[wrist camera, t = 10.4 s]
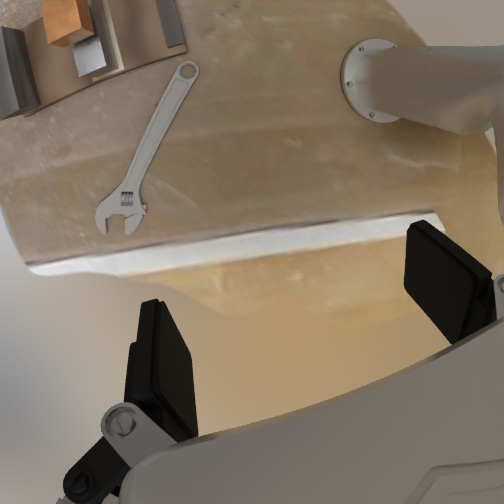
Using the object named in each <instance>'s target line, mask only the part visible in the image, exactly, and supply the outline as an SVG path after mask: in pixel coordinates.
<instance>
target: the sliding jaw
mask: <svg viewBox="0 0 504 504" xmlns="http://www.w3.org/2000/svg"><path fill="white" fill-rule="evenodd" d="M41 10H42V16H43V21H44V26H45V31H46V36H47V41H48V44H50V45H55V46H59V47H63V48H65V47H67V46H69V45H71V46H72V50H73V54H74V58H75V62H76V66H77V70H78V74H79V77H90V78H96V77H98V76H101V75H103V74H106V73H108V72H111V71H113V70H116V69H119V67H118V63H117V60H116V56H115V52H114V48H113V44H112V40H111V36H110V32H109V28H108V23H107V19H106V15H105V10H104V6H103V1H102V0H46V1H44V2H42V3H41Z"/></svg>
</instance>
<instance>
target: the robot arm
mask: <svg viewBox="0 0 504 504" xmlns="http://www.w3.org/2000/svg"><path fill="white" fill-rule="evenodd" d="M359 49H360V51H359ZM341 82H342V88H343V91H344V95H345V97H346V99H347V101H348V102H349V104H350V105H351V106H352V108H353V109H354V110H355V111H356V112H357V113H358V114H359V115H361V116H362V117H364V118H366V119H368V120H371V121H374V122H378V123H390V122H394V121H396V120H398V119H400V118H405V119H408V120H412V121H415V122H419V123H422V124H426V125H429V126H432V127H436V128H439V129H442V130H445V131H448V132H451V133H454V134H458V135H462V136H473V135H478V134H481V133H483V132H485V131H487V130H489V129H490V128H491V127H493V128H494V134H495V145H496V149H497V175H498V208H499V214H500V218H501V220H502V223H503V225H504V45H501V46H484V47H464V46H463V47H462V46H417V47H398V46H397V45H396V44H394V43H392V42H390V41H387V40H384V39H368V40H364V41H361V42H359V43H358V44H356V45H355V46H354V47H352V48H351V49H350V51H349V52H348V53H347V55H346V57H345V59H344V61H343V65H342V69H341ZM347 82H348V85H347ZM369 113H370V115H369ZM491 276H492V273H491V272H490V271H489V270H488V269H487V268H486V267H484V266H483V265H482V264H481V263H480V262H478V261H477V260H476V259H475V258H474V257H472V256H471V255H470V254H469V253H467V252H466V251H465V250H464V249H462V248H461V247H460V246H459V245H457V244H456V243H455V242H453V241H452V240H451V239H450V238H448V237H447V236H446V235H444V234H443V233H442V232H440V231H439V230H438V229H436V228H435V227H434V226H432V225H431V224H430V223H428V222H427V221H425V220H420V221H417V222H414V223H412V224H410V227H409V228H408V229H407V240H406V259H405V274H404V287H405V290H406V291H407V293H408V294H409V295H410V296H411V297H412V298H413V300H414V301H415V302H416V303H417V304H418V305H419V306H420V308H421V309H422V310H423V311H424V312H425V313H426V314H427V316H428V317H429V318H430V319H431V320H432V322H433V323H434V324H435V325H436V326H437V327H438V329H439V330H440V331H441V332H442V333H443V335H444V336H445V337H446V338H447V340H448V341H449V342H450V343H451V344H452V345H451V346H449V347H447V348H445V349H443V350H441V351H440V352H438V353H436V354H434V355H432V356H430V357H428V358H426V359H423V360H421V361H419V362H417V363H415V364H413V365H411V366H409V367H407V368H405V369H402V370H400V371H398V372H396V373H393V374H391V375H389V376H387V377H384V378H382V379H380V380H377V381H375V382H372V383H370V384H367V385H366V386H363V387H360V388H358V389H355V390H353V391H350V392H347V393H344V394H342V395H339V396H336V397H334V398H331V399H328V400H325V401H322V402H320V403H317V404H314V405H311V406H308V407H305V408H302V409H298V410H296V411H292V412H289V413H286V414H282V415H279V416H276V417H272V418H268V419H265V420H261V421H258V422H255V423H251V424H247V425H243V426H239V427H236V428H232V429H227V430H223V431H219V432H215V433H211V434H208V435H204V436H200V437H198V424H197V414H196V404H195V393H194V381H193V368H192V358H191V354H190V352H189V350H188V347H187V346H186V344H185V342H184V340H183V338H182V336H181V334H180V332H179V330H178V328H177V326H176V324H175V322H174V320H173V318H172V316H171V314H170V312H169V310H168V308H167V306H166V304H165V302H164V301H161V302H159V300H158V299H153V300H149V301H146V302H142V304H141V309H140V317H139V325H138V333H137V340H136V342H133V343H131V345H130V349H129V357H128V365H127V375H126V383H125V394H124V403H119V404H117V405H114V406H113V407H111V408H110V409H109V410H108V411H107V412H106V413H105V415H104V416H103V418H102V421H101V432H102V434H103V435H104V436H103V437H102V438H101V439H100V440H99V441H98V442H97V443H96V444H95V445H94V446H93V447H92V448H91V449H90V450H89V451H88V452H87V453H86V454H85V455H84V456H83V457H82V458H81V459H80V460H79V461H78V462H77V463H76V464H75V465H74V466H73V467H72V468H71V469H70V470H69V471H68V472H67V474H66V475H65V477H64V480H63V489H64V493H65V496H64V498H63V499H61V498H59V499H58V501H57V503H56V504H504V274H502V275H499V276H497V277H496V278H495V280H494V281H493V280H492V279H491ZM194 437H196V438H194Z"/></svg>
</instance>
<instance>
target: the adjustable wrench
mask: <svg viewBox="0 0 504 504" xmlns="http://www.w3.org/2000/svg"><path fill="white" fill-rule="evenodd" d="M186 65H191V66H193V67H194V69H195V73H194V75H193V76H192V77H189V78H186V77H184V76H183V75H182V73H181V70H182V68H183V67H184V66H186ZM198 73H199V68H198V66H197V64H196V63H194V62H192V61H185V62H183V63H181V64H180V65H179V67H178V68H177V70H176V72H175V74H174V76H173V77H172V79H171V81H170V83H169V85H168V87H167V89H166V91H165V92H164V94H163V96H162V98H161V100H160V102H159V104H158V106H157V108H156V110H155V112H154V114H153V116H152V119H151V121H150V123H149V125H148V127H147V129H146V131H145V133H144V136H143V138H142V140H141V142H140V144H139V147H138V149H137V151H136V154H135V156H134V158H133V161H132V163H131V165H130V168H129V170H128V173H127V175H126V177H125V179H124V180H123V181H122V183H121V184H120V185H119V186H118V187H117V188H116V189H115V190H114V191H113V192H112V193H111V194H109V195H108V196H107V197H106V198H105V199H103V200H102V202H101V203H100V204H99V206H98V208H97V210H96V213H95V220H96V224H97V226H98V229H99V230H100V231H101V232H102V233H103V234H107V231H108V225H107V217H109V216H111V215H113V214H123V215H125V216H126V218H125V235H130V234H131V233H132V232H133V231H135V229H136V228H137V227H138V225H139V223H140V221H141V219H142V216H143V214H146V213H147V209H146V206H147V204H143V203H142V199H141V195H140V185H141V181H142V179H143V176H144V174H145V172H146V170H147V168H148V166H149V164H150V162H151V160H152V158H153V156H154V154H155V152H156V150H157V148H158V146H159V144H160V142H161V140H162V138H163V136H164V134H165V132H166V130H167V128H168V127H169V125H170V123H171V121H172V119H173V117H174V115H175V114H176V112H177V110H178V108H179V106H180V105H181V103H182V101H183V99H184V98H185V96H186V94H187V92H188V91H189V89H190V87H191V86H192V84H193V82H194V81H195V79H196V77H197V76H198ZM123 192H125V193H123ZM126 192H127V194H126ZM129 192H130V194H129ZM131 192H133V194H132V193H131Z"/></svg>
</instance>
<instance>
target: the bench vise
mask: <svg viewBox="0 0 504 504" xmlns="http://www.w3.org/2000/svg"><path fill="white" fill-rule="evenodd" d="M102 1H103V6H104V10H105V15H106V19H107V23H108V28H109V32H110V36H111V40H112V44H113V48H114V52H115V56H116V60H117V63H118V67H119V69H116V70H113V71H111V72H108V73H106V74H103V75H101V76H98V77H96V78H90V77H79V74H78V70H77V66H76V62H75V58H74V54H73V50H72V46H71V45H69V46H67V47H65V48H63V47H59V46H55V45H50V44H48V41H47V36H46V31H45V26H44V21H43V17H42V18H40V19H38V20H36V21H35V22H33V23H31V24H29V25H28V26H26V27H24V28H23V29H21V30H17V29H12V28H7V27H3V26H1V27H0V121H1V120H4V119H8V118H11V117H14V116H18V115H22V114H23V115H24V117H28V116H31V115H33V114H35V113H36V112H38V111H40V110H42V109H44V108H46V107H48V106H50V105H52V104H54V103H56V102H58V101H60V100H62V99H64V98H66V97H68V96H70V95H72V94H74V93H77V92H79V91H81V90H83V89H86V88H88V87H90V86H93V85H95V84H97V83H100V82H102V81H105V80H107V79H110V78H112V77H115V76H117V75H120V74H123V73H125V72H128V71H131V70H134V69H136V68H139V67H142V66H145V65H148V64H151V63H154V62H157V61H161V60H164V59H167V58H171V57H174V56H177V55H181V54H185V53H187V50H186V46H185V41H184V37H183V34H182V30H181V26H180V22H179V18H178V14H177V10H176V6H175V2H174V0H102Z"/></svg>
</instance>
